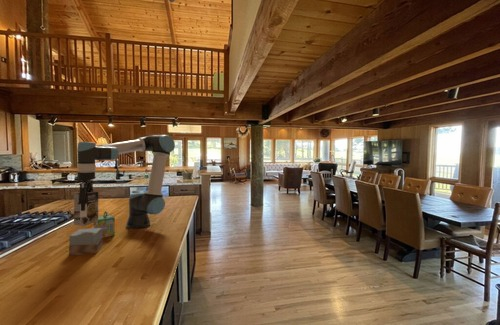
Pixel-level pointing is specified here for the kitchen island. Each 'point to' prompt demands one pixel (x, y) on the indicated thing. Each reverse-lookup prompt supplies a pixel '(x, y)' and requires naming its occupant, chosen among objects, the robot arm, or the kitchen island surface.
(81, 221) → the coffee box
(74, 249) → the tower base
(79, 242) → the grey flat block
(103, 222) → the chalk box
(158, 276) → the kitchen island surface
